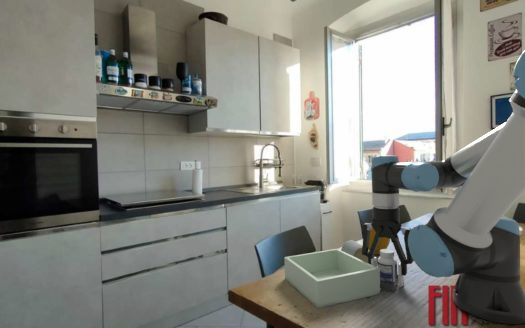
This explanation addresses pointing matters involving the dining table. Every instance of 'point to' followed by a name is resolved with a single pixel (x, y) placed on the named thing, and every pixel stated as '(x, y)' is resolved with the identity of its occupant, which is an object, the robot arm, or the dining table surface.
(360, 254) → the ceramic mug
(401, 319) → the dining table surface
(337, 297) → the bin
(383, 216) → the robot arm
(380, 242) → the orange
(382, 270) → the pill bottle
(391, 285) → the bracket
